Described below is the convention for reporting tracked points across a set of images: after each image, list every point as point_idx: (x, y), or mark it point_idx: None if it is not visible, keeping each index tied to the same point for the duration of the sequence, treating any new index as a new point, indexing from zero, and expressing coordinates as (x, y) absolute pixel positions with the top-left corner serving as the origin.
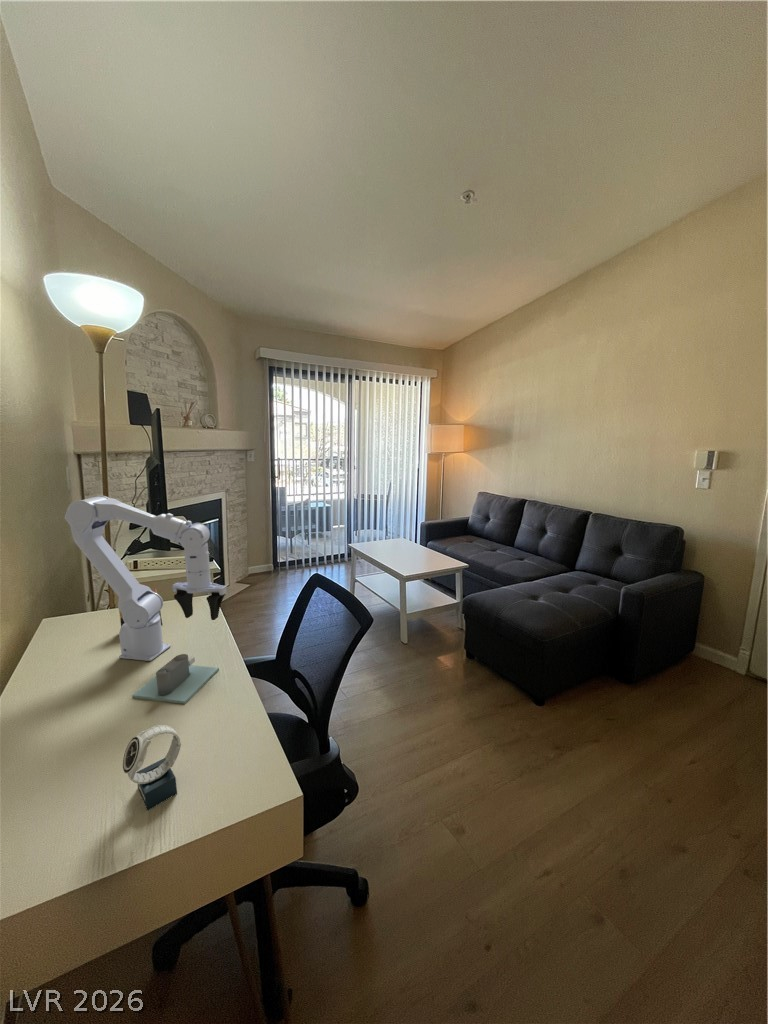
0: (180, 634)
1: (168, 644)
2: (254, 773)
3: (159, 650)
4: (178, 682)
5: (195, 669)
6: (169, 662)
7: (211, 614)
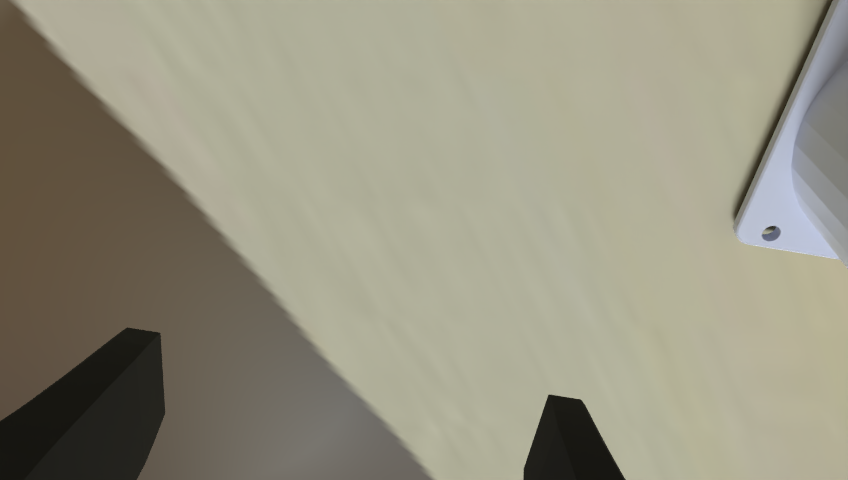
0: (714, 399)
1: (759, 239)
2: None
3: (812, 119)
4: None
5: None
6: None
7: (90, 383)
